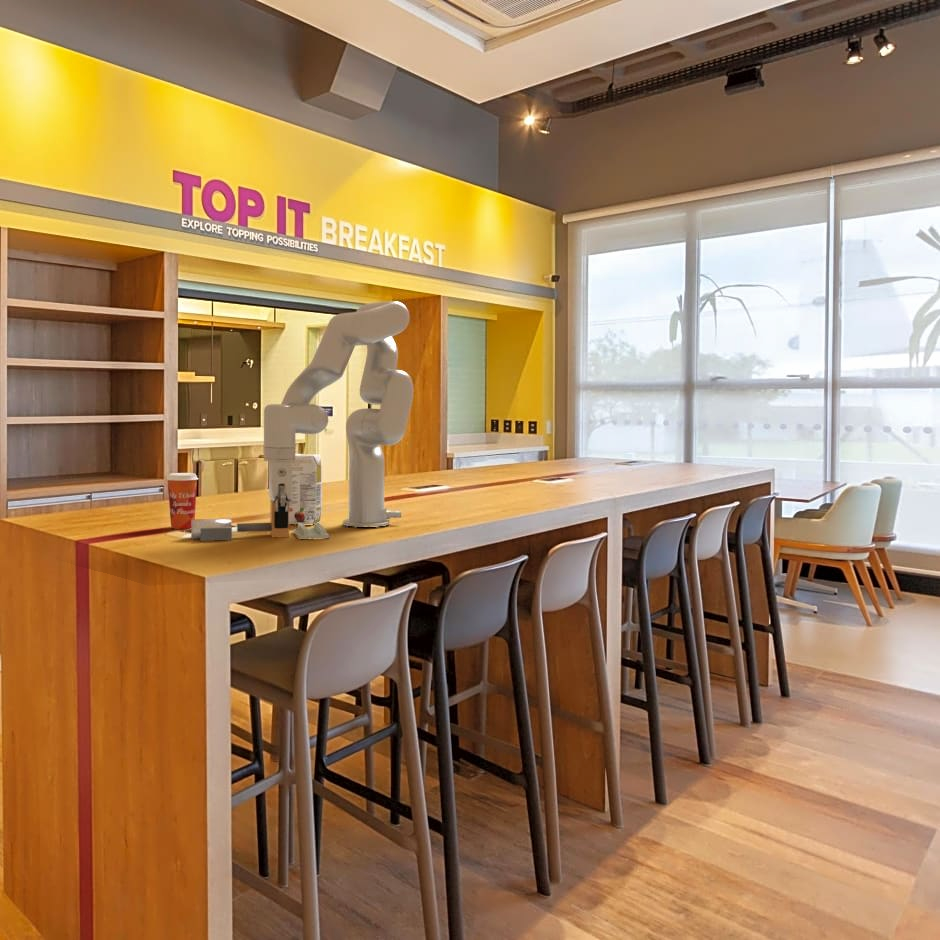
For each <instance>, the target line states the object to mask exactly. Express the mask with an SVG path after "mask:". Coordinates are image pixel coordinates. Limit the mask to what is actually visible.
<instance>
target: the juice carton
mask: <svg viewBox="0 0 940 940" xmlns="http://www.w3.org/2000/svg"><path fill="white" fill-rule="evenodd" d="M291 464H292V488H293V500H292V501H291V502H290V501H289V525H290V524H298V523H303V524H314V523H317V522H319V521H320V522H321V519H322V513H323V512H322V510H323V509H322V507H323V506H322V505H323V503H322V502H323V501H322V500H323V486H322V485H323V463H322V456H321V454H320V453H319V454H317V453H316V454H306V453H305V454H304V453H295V461H291ZM320 522H319V523H320Z"/></svg>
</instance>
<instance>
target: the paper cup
mask: <svg viewBox="0 0 940 940" xmlns="http://www.w3.org/2000/svg"><path fill="white" fill-rule="evenodd" d="M166 480H167V489H168V491H167V492H168V502H169V504H168V505H169V518H170V526H171V527H170V528H171V529H172V528H174V529H173V530H178V529H183V530H191V529H190V528H191V520H194V519H196V505H197V503H196V502H197V500H196V499H197V484H198V483H197V482H198V480H199V478H198V475H196V473H193V472H173V473H169V474H168V475H167V478H166Z"/></svg>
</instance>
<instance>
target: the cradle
mask: <svg viewBox="0 0 940 940" xmlns="http://www.w3.org/2000/svg"><path fill="white" fill-rule="evenodd" d="M306 526H307V525H304V524H303V523H298V525H297V528H294V529H293V534H294V535H295V534H296V535H297V536H296V535H295V536H296V537H297V539H298V540H299V539H309V538H329V539H330V534H329V533H327V531H326V529H325V528H324V526H323V525H321V524H320V522H319V523H314V525H313V528H312V527H311V528H308V527H306Z"/></svg>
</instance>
